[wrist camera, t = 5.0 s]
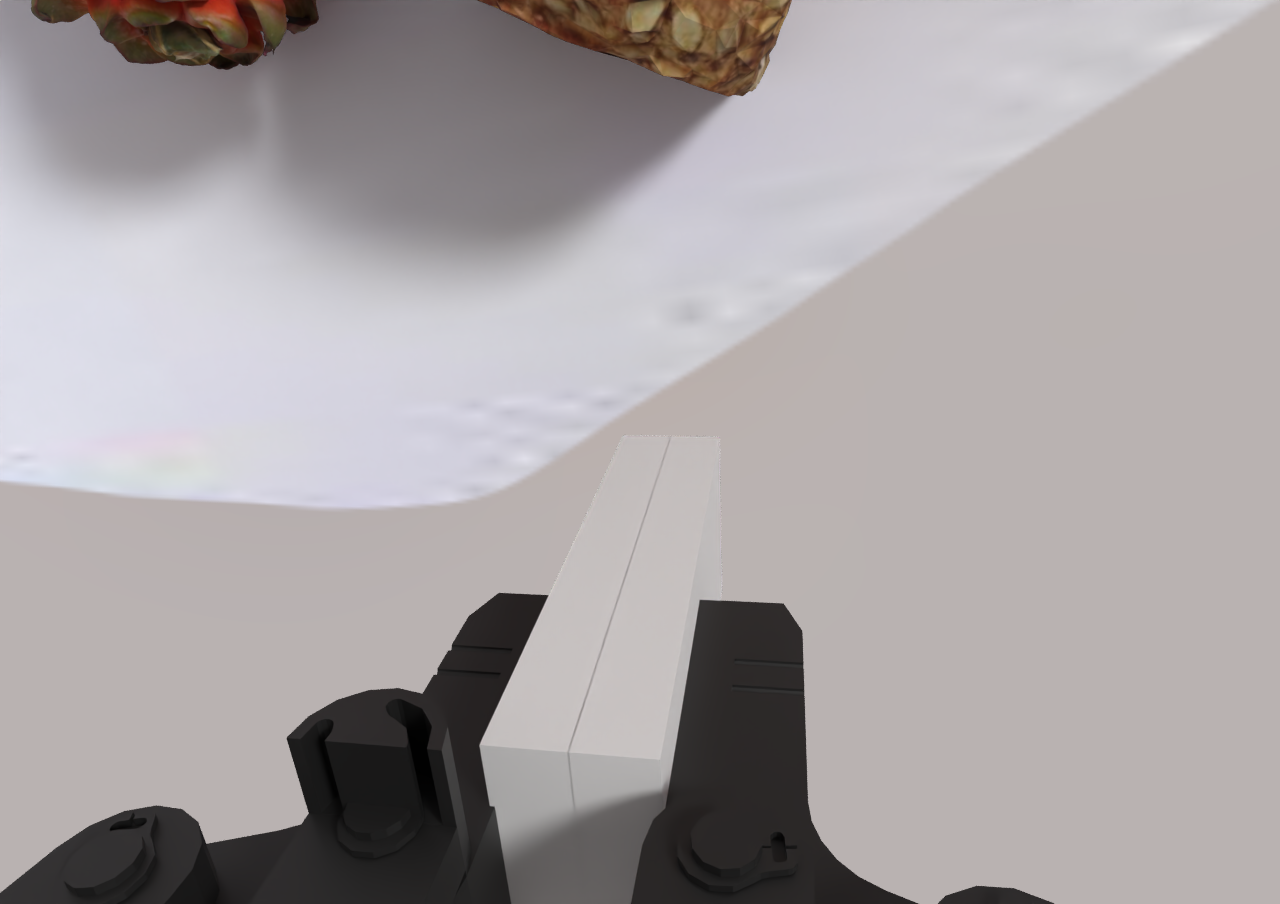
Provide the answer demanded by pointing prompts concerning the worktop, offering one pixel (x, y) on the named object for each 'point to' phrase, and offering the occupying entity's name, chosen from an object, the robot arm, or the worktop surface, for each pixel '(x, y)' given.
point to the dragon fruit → (187, 27)
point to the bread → (668, 34)
